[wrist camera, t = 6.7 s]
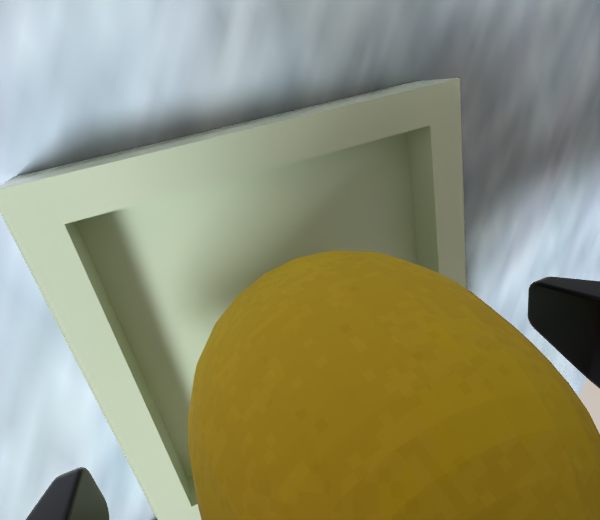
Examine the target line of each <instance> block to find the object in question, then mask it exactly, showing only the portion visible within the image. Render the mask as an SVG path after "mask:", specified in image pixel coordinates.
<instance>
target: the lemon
mask: <svg viewBox="0 0 600 520" xmlns="http://www.w3.org/2000/svg"><path fill="white" fill-rule="evenodd" d="M188 448H189V455H190V462H191V469H192V475H193V481H194V487H195V493H196V499H197V504H198V508H199V512H200V516H201V520H600V434H599V432H598V430H597V428H596V426H595V424H594V422H593V420H592V418H591V416H590V414H589V412H588V411H587V409H586V408H585V406H584V405H583V403H582V402H581V400H580V399H579V397H578V396H577V395H576V393H575V392H574V390H573V389H572V387H571V386H570V385H569V383H568V382H567V381H566V380H565V379H564V377H563V376H562V375H561V374H560V373H559V372H558V370H557V369H556V368H555V367H554V366H553V364H552V363H551V362H550V361H549V360H548V359H547V358H546V357H545V356H544V355H543V354H542V353H541V352H540V351H539V350H538V349H537V348H536V347H535V346H534V345H533V344H532V343H531V342H530V341H529V340H528V339H527V338H526V337H525V336H524V335H523V334H522V333H521V332H519V331H518V330H517V329H516V328H515V327H514V326H513V325H512V324H510V323H509V322H508V321H507V320H505V319H504V318H503V317H502V316H500V315H499V314H498V313H497V312H496V311H494V310H493V309H492V308H491V307H489V306H488V305H487V304H486V303H484V302H483V301H482V300H481V299H479V298H478V297H477V296H476V295H474V294H473V293H472V292H470V291H469V290H467V289H466V288H464V287H463V286H461V285H460V284H458V283H457V282H455V281H453V280H451V279H449V278H447V277H446V276H444V275H442V274H440V273H438V272H435V271H433V270H430V269H428V268H425V267H423V266H420V265H417V264H414V263H411V262H408V261H405V260H402V259H399V258H396V257H393V256H389V255H386V254H382V253H377V252H369V251H326V252H321V253H317V254H313V255H308V256H304V257H300V258H295V259H293V260H291V261H289V262H287V263H285V264H283V265H281V266H279V267H277V268H275V269H273V270H271V271H269V272H267V273H265V274H263V275H262V276H261V277H260V278H258V279H257V280H256V281H255V282H254V283H252V284H251V285H250V286H249V287H247V288H246V289H245V290H244V291H243V292H241V293H240V294H239V295H238V296H237V297H236V298H235V299H234V300H233V302H232V303H231V304H230V305H229V307H228V308H227V309H226V311H225V312H224V313H223V314H222V316H221V317H220V318H219V319H218V321H217V322H216V323H215V325H214V327H213V330H212V332H211V334H210V336H209V338H208V340H207V343H206V345H205V347H204V349H203V351H202V354H201V356H200V358H199V360H198V362H197V365H196V370H195V375H194V380H193V387H192V393H191V400H190V406H189V415H188Z"/></svg>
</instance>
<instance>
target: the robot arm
mask: <svg viewBox="0 0 600 520" xmlns="http://www.w3.org/2000/svg"><path fill="white" fill-rule="evenodd" d="M528 319H529V321H530V324H531V325H532V326H533V327H534V329H536V330H537V331H538V332H539V333H540V334H541V335H542V336H543V337H544V338H545V339H546V340H547V341H548V342H549V343H550V344H551V345H552V346H554V347H555V348H556V349H557V350H558V351H559V352H560V353H561V354H562V355H563V356H564V357H565V358H566V359H567V360H568V361H569V362H570V363H572V364H573V365H574V366H575V367H576V368H577V369H578V370H579V371H580V372H581V373H582V374H583V375H584V376H586V377H587V378H588V379H589V380H590V381H591V382H593V383H594V384H595V385H596V386H597V387H599V388H600V281H590V280H580V279H570V278H559V277H546V278H543V279H541V280H538V281H536V282H534V283H532V284H531V285H530V287H529V297H528ZM26 520H109V512H108V507H107V503H106V501H105V499H104V497H103V495H102V493H101V491H100V490H99V488H98V486H97V485H96V483H95V481H94V479H93V478H92V476H91V474H90V472H89V471H88V470H87V469H86V468H83V467H80V468H77V469H75V470H72V471H70V472H67V473H65V474H62V475H60V476H58V477H57V478H56V479H55V480H54V481H53V482H52V483H51V485H50V486H49V488H48V489H47V490H46V492H45V493H44V495H43V496H42V497H41V499H40V500H39V502H38V503H37V505H36V506H35V507H34V509H33V510H32V512H31V513H30V514H29V516H28V517H27V519H26Z"/></svg>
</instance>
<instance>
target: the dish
mask: <svg viewBox="0 0 600 520" xmlns="http://www.w3.org/2000/svg"><path fill="white" fill-rule="evenodd" d="M0 213H1V215H2V217H3V219H4V221H5V223H6V224H7V226H8V228H9V230H10V232H11V234H12V236H13V238H14V240H15V242H16V244H17V246H18V248H19V250H20V252H21V254H22V256H23V258H24V260H25V262H26V264H27V266H28V267H29V269H30V271H31V273H32V275H33V277H34V279H35V281H36V283H37V285H38V287H39V289H40V291H41V293H42V295H43V297H44V299H45V301H46V303H47V305H48V307H49V308H50V310H51V312H52V314H53V316H54V318H55V320H56V322H57V324H58V326H59V328H60V330H61V332H62V334H63V336H64V338H65V340H66V342H67V344H68V346H69V348H70V350H71V351H72V353H73V355H74V357H75V359H76V361H77V363H78V365H79V367H80V369H81V371H82V373H83V375H84V377H85V379H86V381H87V383H88V385H89V387H90V389H91V391H92V393H93V394H94V396H95V398H96V400H97V402H98V404H99V406H100V408H101V410H102V412H103V414H104V416H105V418H106V420H107V422H108V424H109V426H110V428H111V430H112V432H113V434H114V435H115V437H116V439H117V441H118V443H119V445H120V447H121V449H122V451H123V453H124V455H125V457H126V459H127V461H128V463H129V465H130V467H131V469H132V471H133V473H134V475H135V477H136V478H137V480H138V482H139V484H140V486H141V488H142V490H143V492H144V494H145V496H146V498H147V500H148V502H149V504H150V506H151V508H152V510H153V512H154V514H155V516H156V518H157V520H201V516H200V512H199V508H198V504H197V499H196V493H195V487H194V481H193V475H192V469H191V462H190V455H189V448H188V415H189V406H190V400H191V393H192V387H193V380H194V375H195V370H196V365H197V362H198V360H199V358H200V356H201V354H202V351H203V349H204V347H205V345H206V343H207V340H208V338H209V336H210V334H211V332H212V330H213V327H214V325H215V323H216V322H217V321H218V319H219V318H220V317H221V316H222V314H223V313H224V312H225V311H226V309H227V308H228V307H229V305H230V304H231V303H232V302H233V300H234V299H235V298H236V297H237V296H238V295H239V294H240V293H241V292H243V291H244V290H245V289H246V288H247V287H249V286H250V285H251V284H252V283H254V282H255V281H256V280H257V279H258V278H260V277H261V276H262V275H263V274H265V273H267V272H269V271H271V270H273V269H275V268H277V267H279V266H281V265H283V264H285V263H287V262H289V261H291V260H293V259H295V258H300V257H304V256H308V255H313V254H317V253H321V252H326V251H369V252H377V253H382V254H386V255H389V256H393V257H396V258H399V259H402V260H405V261H408V262H411V263H414V264H417V265H420V266H423V267H425V268H428V269H430V270H433V271H435V272H438V273H440V274H442V275H444V276H446V277H447V278H449V279H451V280H453V281H455V282H457V283H458V284H460V285H461V286H463V287H464V288H466V259H465V226H464V193H463V159H462V126H461V93H460V78H450V79H436V80H422V81H415V82H411V83H407V84H402V85H398V86H394V87H390V88H386V89H381V90H377V91H373V92H369V93H365V94H360V95H356V96H352V97H348V98H343V99H339V100H335V101H331V102H327V103H322V104H318V105H314V106H310V107H306V108H301V109H297V110H293V111H289V112H285V113H280V114H276V115H272V116H268V117H264V118H259V119H255V120H251V121H247V122H243V123H238V124H234V125H230V126H226V127H222V128H217V129H213V130H209V131H205V132H201V133H196V134H192V135H188V136H184V137H179V138H175V139H171V140H167V141H163V142H158V143H154V144H150V145H146V146H142V147H137V148H133V149H129V150H125V151H121V152H116V153H112V154H108V155H104V156H100V157H95V158H91V159H87V160H83V161H79V162H74V163H70V164H66V165H62V166H58V167H53V168H49V169H45V170H41V171H37V172H32V173H28V174H24V175H20V176H16V177H13V178H11V179H10V180H8V181H6V182H5V183H3V184H2V185H0Z"/></svg>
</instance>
